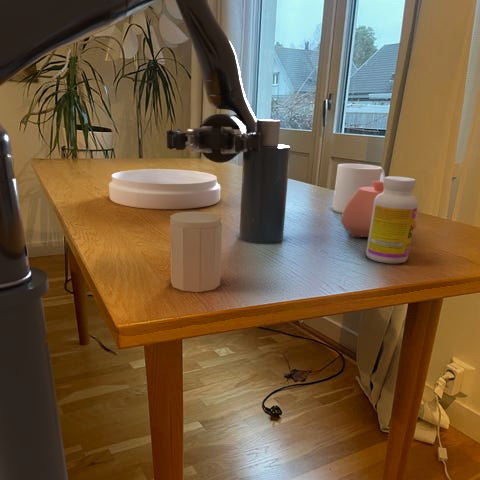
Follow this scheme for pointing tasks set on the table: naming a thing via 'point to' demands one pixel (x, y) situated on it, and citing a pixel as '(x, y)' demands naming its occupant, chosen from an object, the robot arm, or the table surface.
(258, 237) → the flask
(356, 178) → the mug
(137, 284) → the table surface
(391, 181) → the supplement bottle
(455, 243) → the table surface
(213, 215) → the beige faceted cylinder
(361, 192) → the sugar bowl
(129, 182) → the plate
